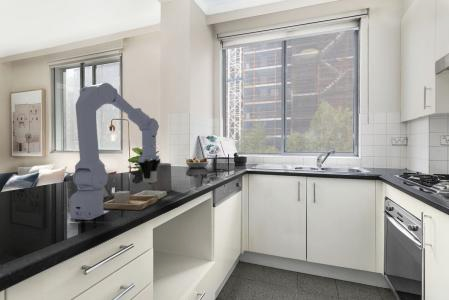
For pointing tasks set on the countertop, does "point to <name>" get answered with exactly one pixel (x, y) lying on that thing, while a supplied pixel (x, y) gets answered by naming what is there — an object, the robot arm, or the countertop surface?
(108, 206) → the wooden tray
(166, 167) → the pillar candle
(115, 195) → the stone
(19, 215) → the countertop surface
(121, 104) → the robot arm
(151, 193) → the stoneware dish
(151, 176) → the stone
